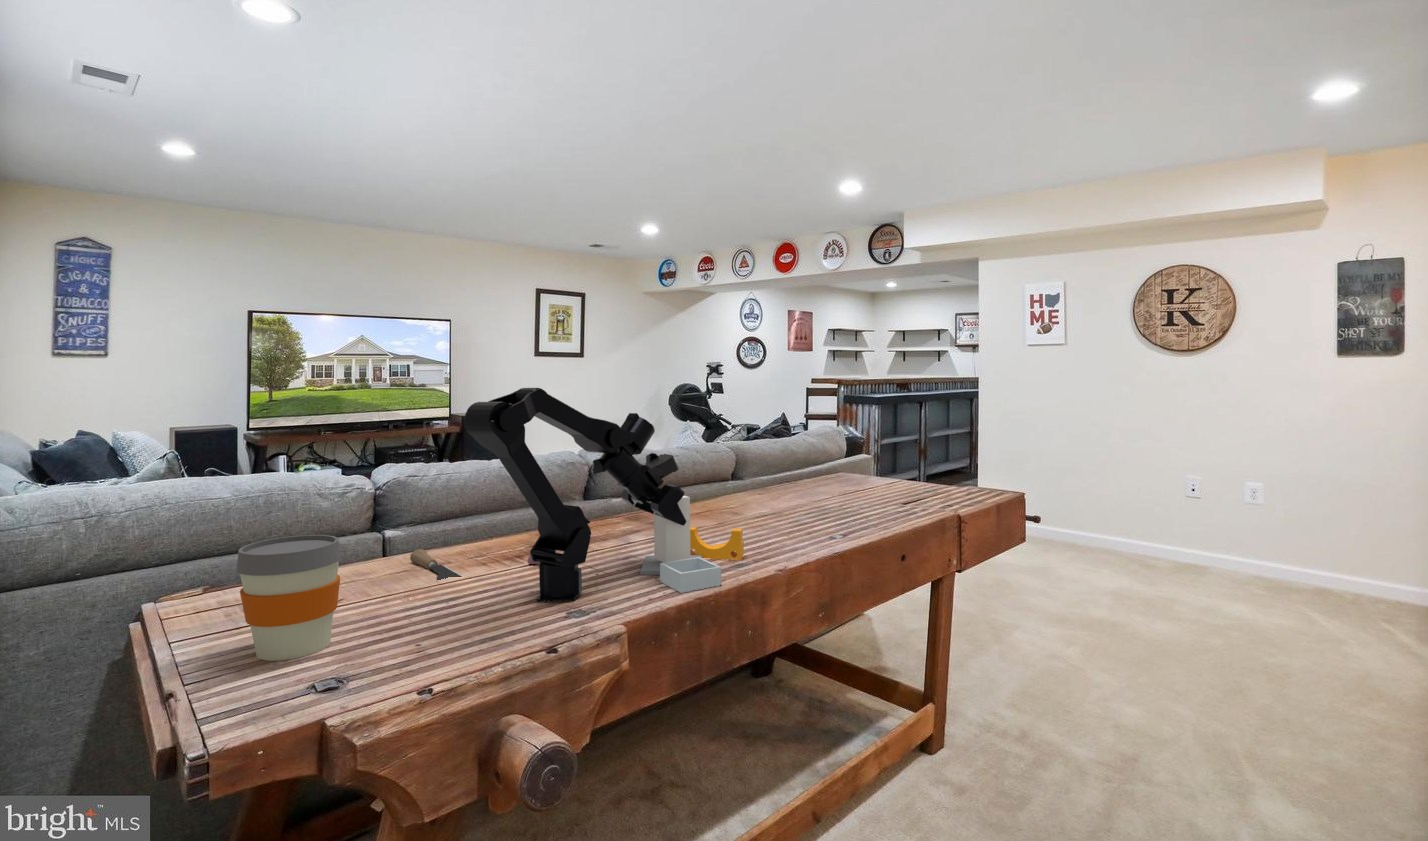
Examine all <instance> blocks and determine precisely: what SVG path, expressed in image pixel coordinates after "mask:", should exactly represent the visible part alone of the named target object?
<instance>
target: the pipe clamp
mask: <svg viewBox="0 0 1428 841" xmlns="http://www.w3.org/2000/svg"><path fill="white" fill-rule="evenodd" d="M730 534H731V535H730V537H729V540H727V541H725V542H723V543H720V544H719V543H717V544H715V543H714V544H713V545H710V544H708V543H706V542H705V541H704V540H703V539H702V538H701V537H700V534H699V532H698V527H696V526H690V555H702V558H710V559H709V560H715V559H737V560H736V561H740V560H741V561H742V559H743V558H742V557H744V556H743V555H745V553H744V552H745V551H744V550H745V548H744V541H743V528H735V527H734V528H732V530H731V533H730ZM693 550H694V551H695V552H694V551H693ZM741 558H742V559H741Z"/></svg>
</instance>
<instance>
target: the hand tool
mask: <svg viewBox="0 0 1428 841" xmlns="http://www.w3.org/2000/svg"><path fill="white" fill-rule="evenodd" d="M409 558H410V561H411V562H412V563H413V564H416V565H418V566H420V567H422V566H423V568H425V569H427V568H428V569H427V570H432V571H433V572H435V573H436V574H437V577H436V579H437V580H441V579H444V578H445V579H446V578H448V577H462V576H463V575H462V576H461V574H460V573H458V572H456V571H454V570H452V569H451V568H449V567H448V566H446V565H443V564H438V561H437V560H436V559H435V558H433V557H432V556H431V555H429V554H428V552H427V551H426V549H423V548H420V549H419V548H418V549H416V550H413V551H412V552H411V554H410V557H409Z"/></svg>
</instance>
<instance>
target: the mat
mask: <svg viewBox="0 0 1428 841" xmlns="http://www.w3.org/2000/svg"><path fill="white" fill-rule="evenodd" d="M696 557H700V558H702V555H690V558H696ZM660 563H663V562H661V561H659V560H657V559H655V558H654V555H646V556H645V558H644V560H643V564H642V565H641V568H640V572H639V574H640V576H660Z"/></svg>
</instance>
